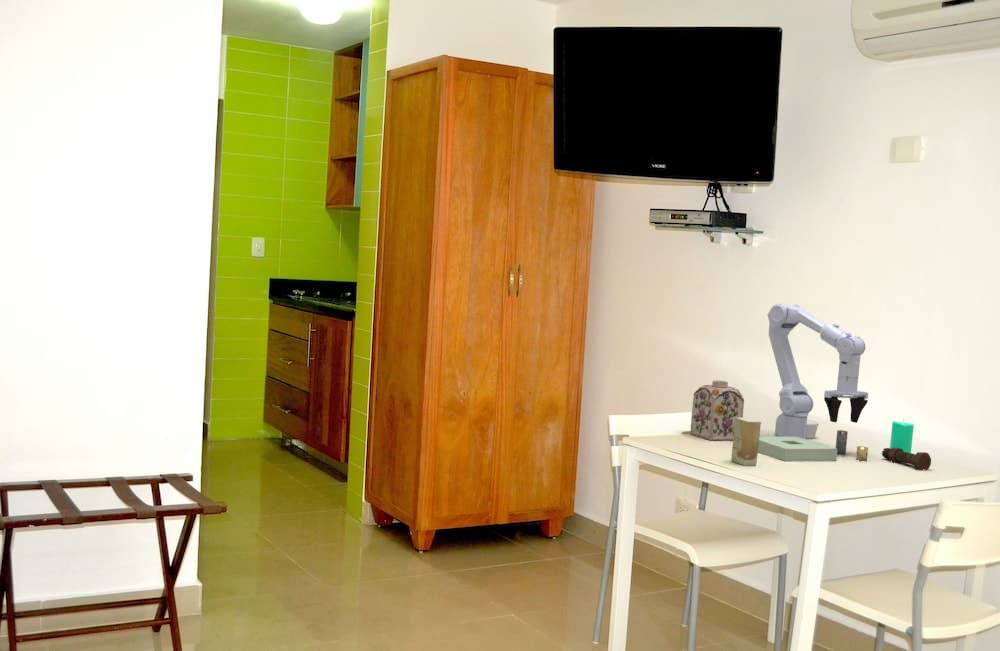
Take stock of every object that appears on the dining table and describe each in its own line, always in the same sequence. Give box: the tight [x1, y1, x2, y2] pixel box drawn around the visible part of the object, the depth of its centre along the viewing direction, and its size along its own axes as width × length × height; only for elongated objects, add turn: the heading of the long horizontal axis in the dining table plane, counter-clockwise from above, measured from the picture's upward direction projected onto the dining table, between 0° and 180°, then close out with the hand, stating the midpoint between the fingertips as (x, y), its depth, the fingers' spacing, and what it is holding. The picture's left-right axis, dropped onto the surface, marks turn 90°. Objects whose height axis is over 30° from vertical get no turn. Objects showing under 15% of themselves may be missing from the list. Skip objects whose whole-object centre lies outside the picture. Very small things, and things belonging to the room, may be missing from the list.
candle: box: [889, 418, 915, 453], centre depth 289 cm, size 6×6×12 cm
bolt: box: [881, 447, 932, 471], centre depth 278 cm, size 6×5×15 cm
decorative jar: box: [690, 379, 745, 441], centre depth 302 cm, size 12×12×18 cm
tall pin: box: [835, 429, 848, 456], centre depth 287 cm, size 3×3×7 cm
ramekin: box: [805, 419, 820, 440], centre depth 316 cm, size 11×11×5 cm
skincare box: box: [730, 417, 762, 466], centre depth 262 cm, size 6×4×12 cm
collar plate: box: [758, 436, 838, 462], centre depth 281 cm, size 18×18×4 cm
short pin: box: [855, 445, 869, 462], centre depth 279 cm, size 3×3×4 cm
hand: (843, 421), depth 286 cm, fingers open, 7 cm apart
